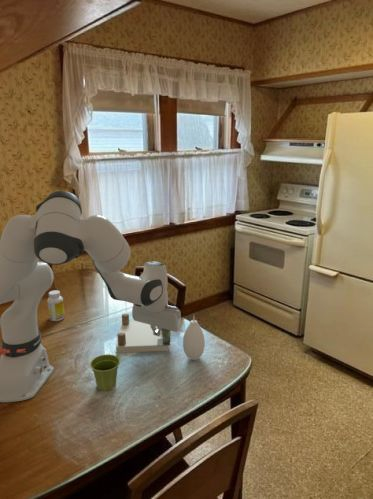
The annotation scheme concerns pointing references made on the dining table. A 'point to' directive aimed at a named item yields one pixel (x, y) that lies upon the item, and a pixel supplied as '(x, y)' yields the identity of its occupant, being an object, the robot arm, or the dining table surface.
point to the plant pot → (105, 371)
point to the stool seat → (138, 337)
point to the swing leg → (166, 335)
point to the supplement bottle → (55, 306)
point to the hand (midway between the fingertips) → (157, 335)
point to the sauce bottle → (193, 340)
